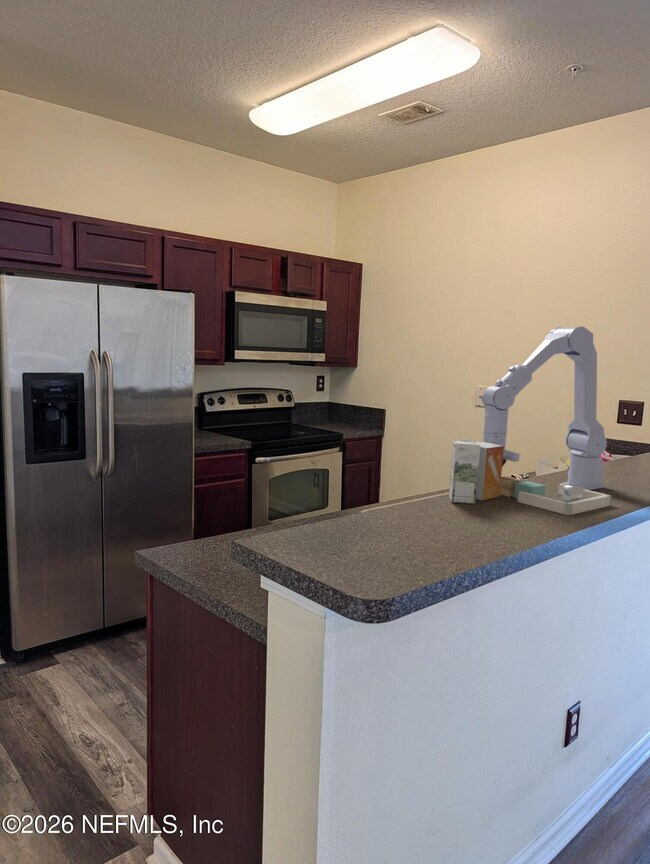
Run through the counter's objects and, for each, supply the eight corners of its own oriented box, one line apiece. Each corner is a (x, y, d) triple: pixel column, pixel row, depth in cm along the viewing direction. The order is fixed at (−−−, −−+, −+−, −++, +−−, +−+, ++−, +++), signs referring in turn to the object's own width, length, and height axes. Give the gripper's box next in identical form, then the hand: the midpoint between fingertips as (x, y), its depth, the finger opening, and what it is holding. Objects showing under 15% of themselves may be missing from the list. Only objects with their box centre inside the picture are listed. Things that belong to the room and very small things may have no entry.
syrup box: (472, 498, 148) (476, 439, 146) (475, 505, 142) (480, 443, 140) (448, 497, 149) (452, 438, 147) (451, 503, 143) (455, 442, 141)
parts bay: (560, 493, 158) (561, 484, 157) (610, 505, 147) (611, 495, 147) (517, 501, 147) (518, 491, 147) (568, 515, 136) (569, 504, 136)
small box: (482, 501, 146) (487, 447, 144) (460, 496, 151) (464, 444, 149) (500, 496, 152) (504, 445, 150) (478, 491, 156) (482, 441, 154)
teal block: (526, 496, 154) (527, 481, 153) (543, 501, 150) (545, 485, 149) (514, 499, 151) (515, 483, 150) (531, 503, 147) (532, 487, 146)
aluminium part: (569, 498, 153) (570, 482, 153) (587, 503, 149) (589, 487, 149) (557, 500, 150) (559, 485, 150) (576, 505, 146) (577, 489, 146)
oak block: (504, 491, 159) (505, 476, 158) (521, 495, 155) (522, 479, 154) (492, 493, 156) (493, 478, 155) (509, 497, 152) (510, 481, 151)
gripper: (462, 429, 161) (459, 480, 162) (508, 437, 149) (504, 491, 151) (480, 428, 165) (476, 477, 167) (526, 435, 153) (521, 488, 155)
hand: (490, 484), depth 159 cm, fingers closed
